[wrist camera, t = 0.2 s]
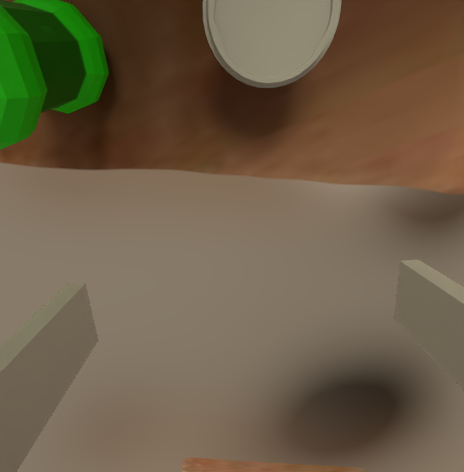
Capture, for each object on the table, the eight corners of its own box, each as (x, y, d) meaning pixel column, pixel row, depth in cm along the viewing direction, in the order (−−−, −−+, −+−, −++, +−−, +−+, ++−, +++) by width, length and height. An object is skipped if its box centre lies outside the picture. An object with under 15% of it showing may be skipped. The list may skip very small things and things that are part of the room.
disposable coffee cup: (219, -53, 28) (207, -104, 18) (323, -35, 28) (369, -75, 18) (210, 67, 33) (195, 80, 23) (298, 80, 33) (322, 99, 23)
